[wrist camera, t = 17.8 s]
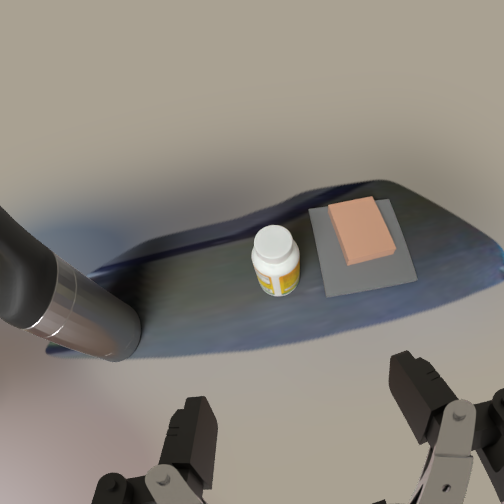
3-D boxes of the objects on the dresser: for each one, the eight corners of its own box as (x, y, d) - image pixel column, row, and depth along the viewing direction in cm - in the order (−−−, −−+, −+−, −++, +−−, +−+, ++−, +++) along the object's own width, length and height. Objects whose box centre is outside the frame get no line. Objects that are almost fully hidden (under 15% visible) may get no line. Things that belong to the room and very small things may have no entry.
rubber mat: (326, 297, 35) (326, 296, 34) (308, 211, 42) (308, 209, 41) (416, 281, 34) (417, 279, 33) (387, 201, 40) (388, 199, 40)
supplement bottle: (257, 296, 37) (244, 264, 28) (260, 259, 39) (249, 219, 31) (299, 297, 36) (298, 264, 27) (300, 260, 38) (299, 219, 30)
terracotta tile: (396, 248, 34) (372, 196, 38) (348, 260, 34) (328, 205, 39) (393, 254, 35) (370, 203, 40) (347, 265, 36) (327, 211, 40)
